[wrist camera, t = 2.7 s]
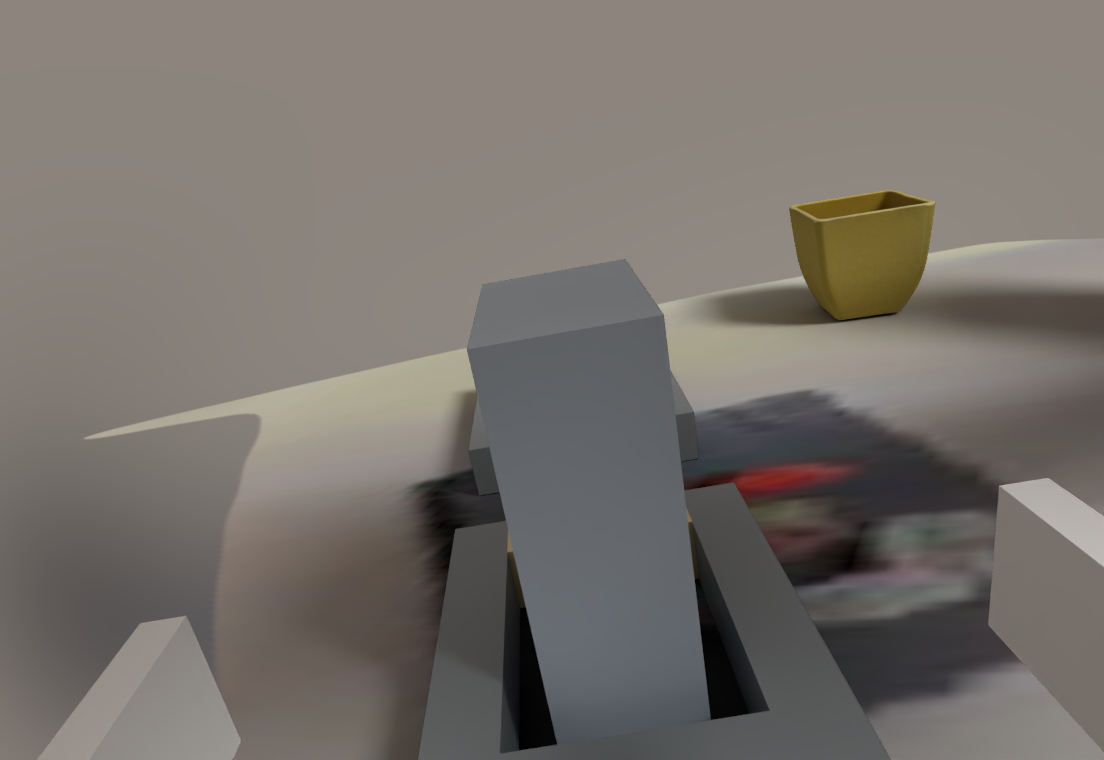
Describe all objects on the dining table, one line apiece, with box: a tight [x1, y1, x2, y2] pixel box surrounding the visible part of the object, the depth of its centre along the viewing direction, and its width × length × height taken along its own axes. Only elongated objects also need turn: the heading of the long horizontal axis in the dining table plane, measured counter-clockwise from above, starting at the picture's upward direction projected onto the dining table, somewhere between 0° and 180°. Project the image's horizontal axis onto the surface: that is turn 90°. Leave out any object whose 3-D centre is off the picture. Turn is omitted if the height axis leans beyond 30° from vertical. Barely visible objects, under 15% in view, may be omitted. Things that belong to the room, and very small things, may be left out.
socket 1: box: [468, 370, 699, 495], centre depth 47 cm, size 13×15×3 cm
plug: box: [467, 259, 711, 745], centre depth 24 cm, size 5×8×15 cm, turn 2°
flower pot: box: [789, 190, 936, 320], centre depth 57 cm, size 9×9×9 cm
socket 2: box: [418, 482, 891, 760], centre depth 25 cm, size 13×15×3 cm
